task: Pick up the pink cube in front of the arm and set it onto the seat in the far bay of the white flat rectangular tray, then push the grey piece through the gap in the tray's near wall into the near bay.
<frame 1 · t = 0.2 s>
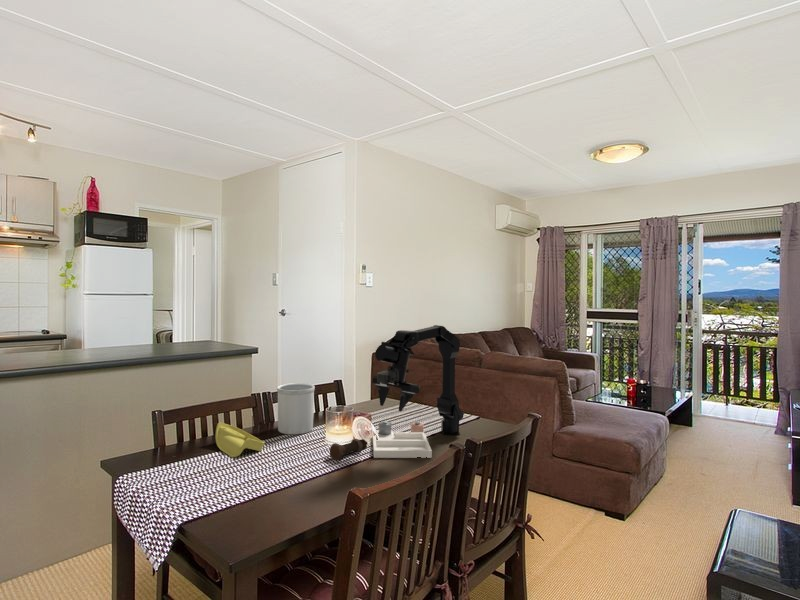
hand: (390, 408, 166), 15 cm above the table, tool pointing down, fingers open, 9 cm apart
white flat rectangular tray: (400, 447, 170), on the table
plastic component: (238, 448, 165), on the table
utensil holder: (295, 429, 188), on the table
pink cube: (417, 434, 187), on the table
dark brown dumbbell: (350, 454, 163), on the table
grey piece: (384, 433, 185), resting on white flat rectangular tray
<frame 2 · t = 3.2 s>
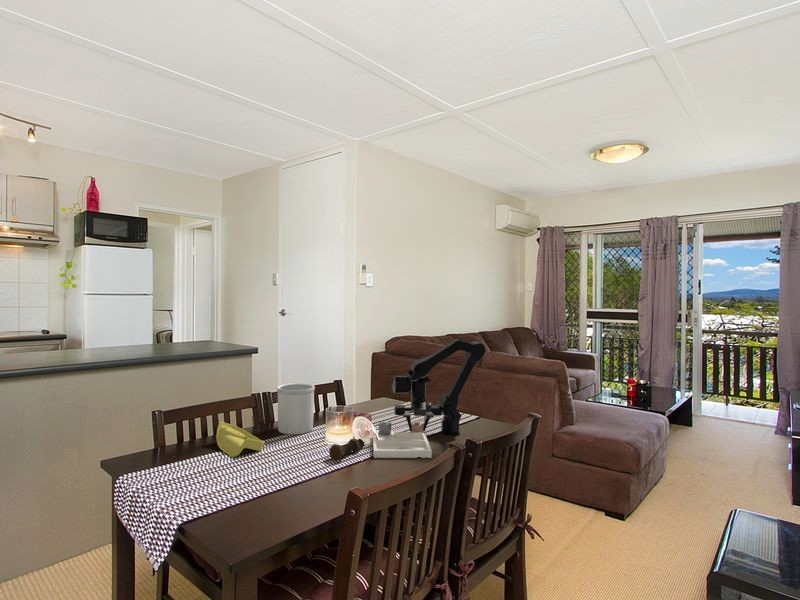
hand: (417, 431, 187), 1 cm above the table, tool pointing down, fingers closed on pink cube, 5 cm apart
pink cube: (417, 434, 187), on the table, touching gripper
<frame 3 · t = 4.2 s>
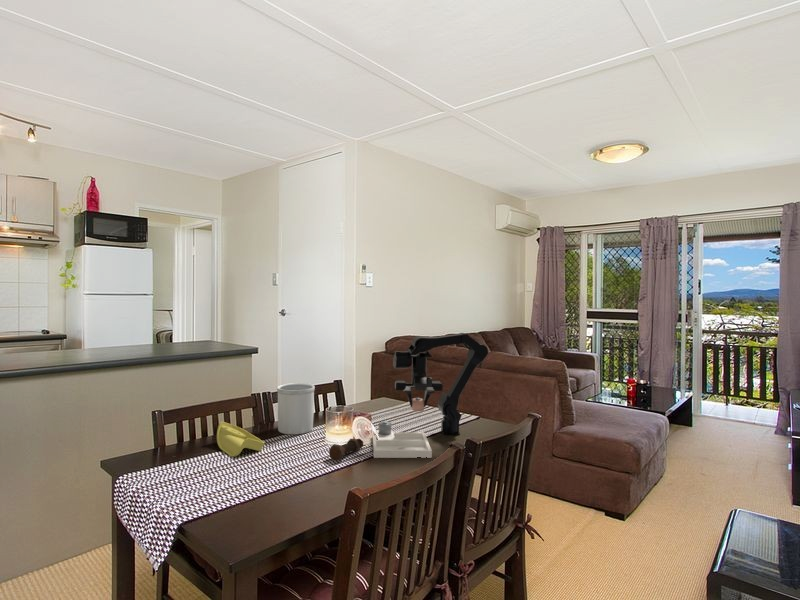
hand: (417, 407, 186), 11 cm above the table, tool pointing down, fingers closed on pink cube, 5 cm apart
pink cube: (417, 409, 186), point 10 cm above the table, touching gripper
everything else where it was.
when the fingers open (2 cm above the table, at t = 7.3 s): pink cube stays where it is, resting on white flat rectangular tray.
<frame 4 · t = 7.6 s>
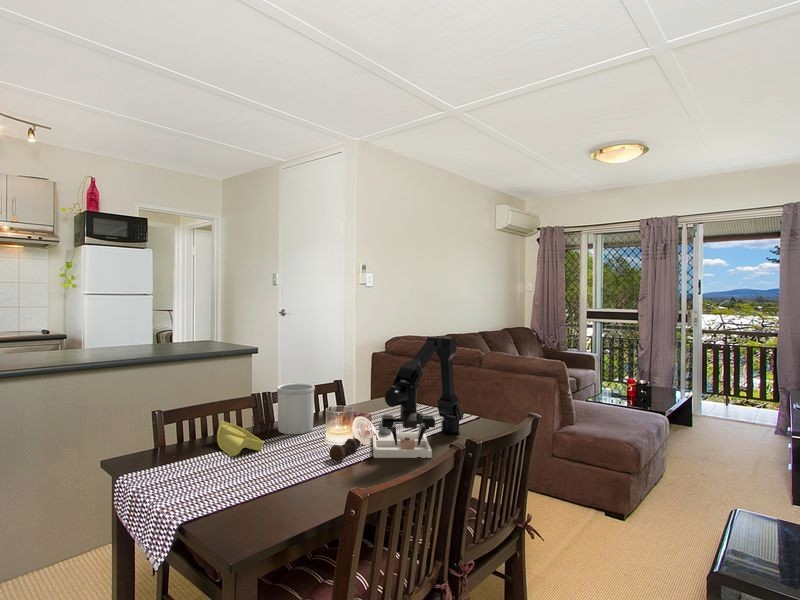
hand: (407, 445, 166), 2 cm above the table, tool pointing down, fingers open, 8 cm apart
pink cube: (407, 450, 166), point 1 cm above the table, touching white flat rectangular tray
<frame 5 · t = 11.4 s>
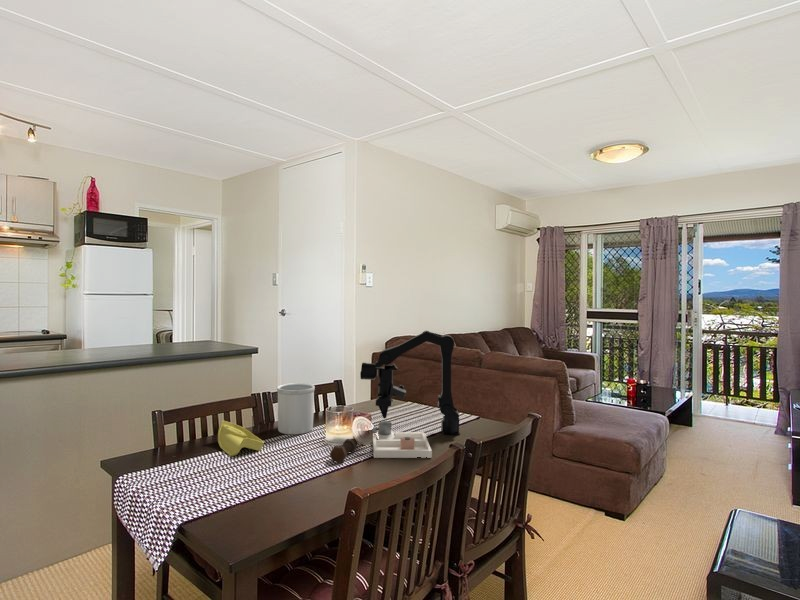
hand: (384, 418, 191), 5 cm above the table, tool pointing down, fingers closed
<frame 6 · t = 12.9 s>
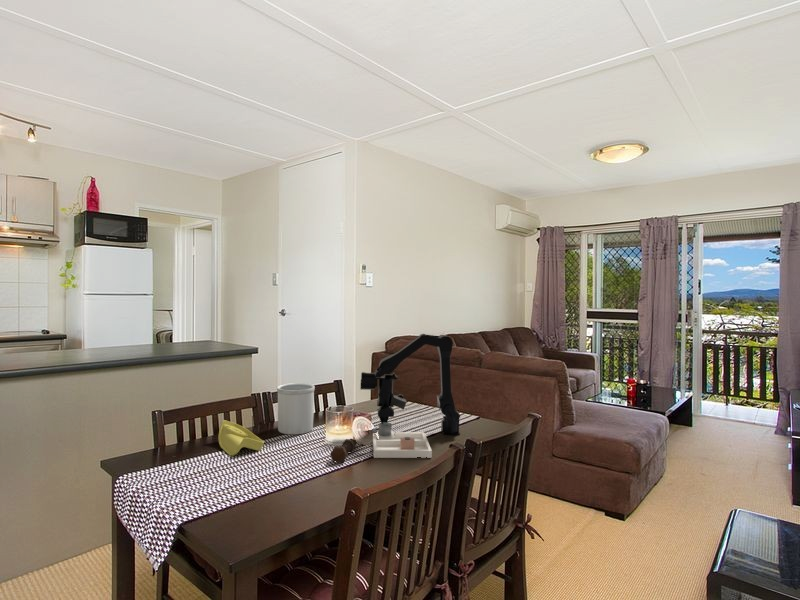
hand: (384, 428, 188), 2 cm above the table, tool pointing down, fingers closed
grey piece: (385, 434, 183), resting on white flat rectangular tray, touching gripper
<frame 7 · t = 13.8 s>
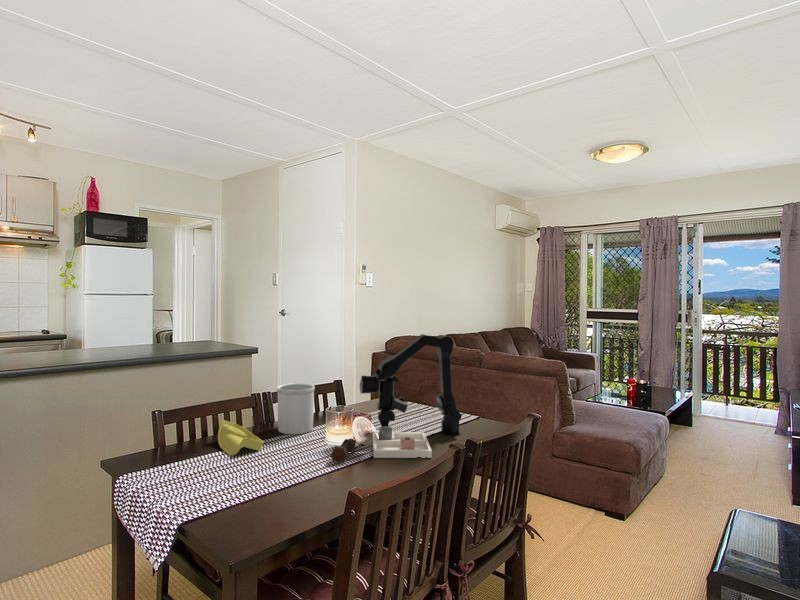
hand: (384, 432, 182), 2 cm above the table, tool pointing down, fingers closed
grey piece: (385, 438, 178), resting on white flat rectangular tray, touching gripper
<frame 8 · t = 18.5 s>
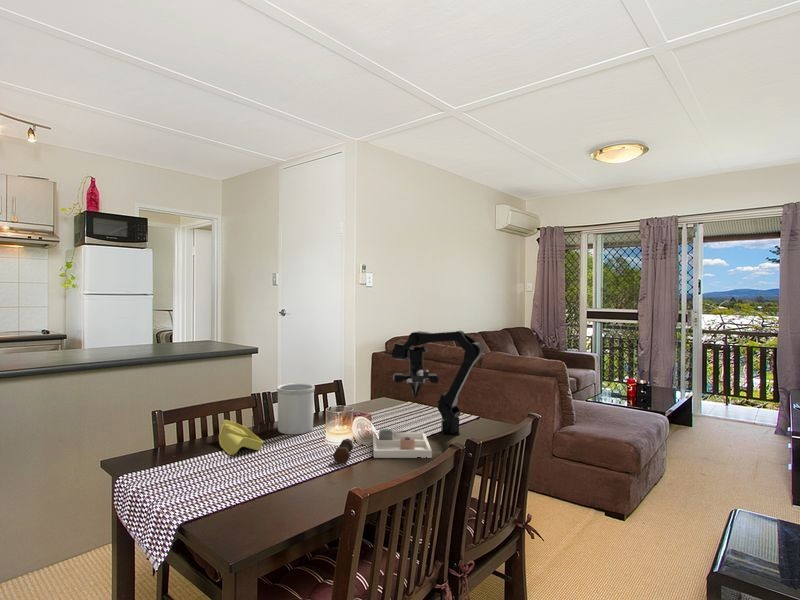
hand: (415, 398, 196), 12 cm above the table, tool pointing down, fingers closed
grey piece: (385, 441, 174), resting on white flat rectangular tray
at the end: pink cube inside the target area on the white flat rectangular tray (2.0 cm from its centre), point 0.6 cm above the white flat rectangular tray's base; grey piece inside the target area on the white flat rectangular tray (5.2 cm from its centre), point 0.5 cm above the white flat rectangular tray's base; the gripper is holding nothing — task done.
